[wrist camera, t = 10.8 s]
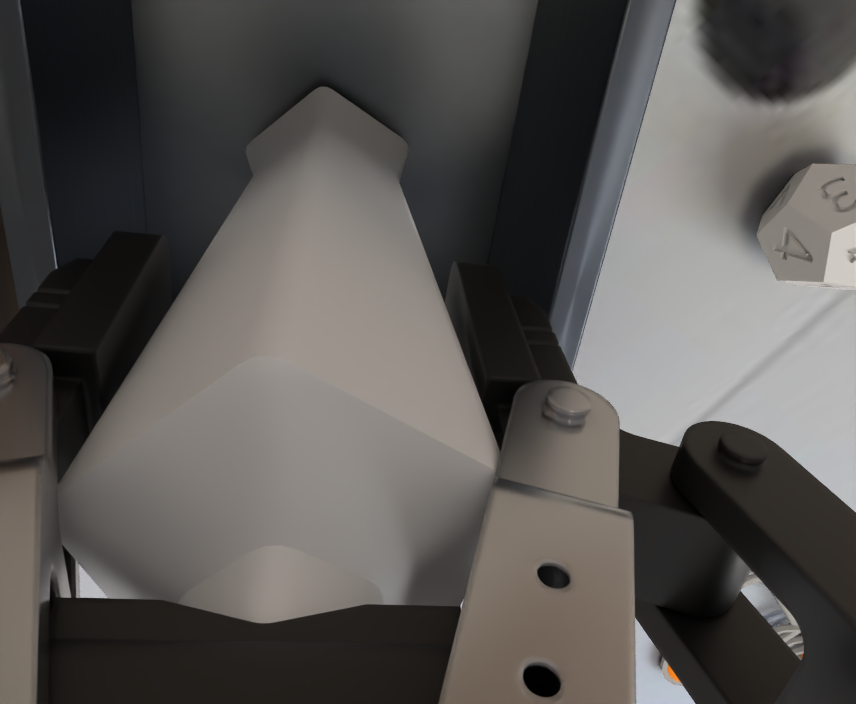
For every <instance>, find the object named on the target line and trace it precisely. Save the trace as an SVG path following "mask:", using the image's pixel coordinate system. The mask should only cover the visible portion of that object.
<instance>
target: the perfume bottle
mask: <svg viewBox="0 0 856 704" xmlns="http://www.w3.org/2000/svg"><path fill="white" fill-rule="evenodd" d="M408 150H409V148H408V145H407V142H406V141H405V140H404V139H403V138H401V137H400V136H399V135H397V134H396V133H394V132H393V131H391V130H390V129H388V128H387V127H386V126H384V125H383V124H381V123H380V122H378V121H377V120H376V119H374V118H373V117H371V116H370V115H368V114H367V113H366V112H364V111H363V110H361V109H360V108H358V107H357V106H355V105H354V104H353V103H351V102H350V101H348V100H347V99H345V98H344V97H343V96H341V95H340V94H338V93H337V92H335V91H334V90H332V89H330V88H328V87H319V88H317V89H315V90H313V91H312V92H311V93H310V94H309V95H307V96H306V97H305V98H304V99H302V100H301V101H300V102H299V103H297V104H296V105H295V106H294V107H293V108H291V109H290V110H289V111H288V112H286V113H285V114H284V115H283V116H282V117H280V118H279V119H278V120H277V121H275V122H274V123H273V124H272V125H270V126H269V127H268V128H267V129H266V130H264V131H263V132H262V133H261V134H259V135H258V136H257V137H256V138H255V139H253V140H252V141H251V142H250V143H249V144H248V146H247V148H246V155H247V159H248V162H249V165H250V167H251V170H252V173H253V177H252V179H251V181H250V182H249V184H248V185H247V187H246V188H245V190H244V192H243V193H242V195H241V196H240V198H239V199H238V201H237V203H236V204H235V206H234V207H233V209H232V211H231V212H230V214H229V215H228V217H227V218H226V220H225V222H224V223H223V225H222V226H221V228H220V229H219V231H218V233H217V234H216V236H215V237H214V239H213V241H212V242H211V244H210V245H209V247H208V248H207V250H206V252H205V253H204V255H203V256H202V258H201V259H200V261H199V263H198V264H197V266H196V267H195V269H194V271H193V272H192V274H191V275H190V277H189V278H188V280H187V282H186V283H185V285H184V286H183V288H182V289H181V291H180V293H179V294H178V296H177V297H176V299H175V301H174V302H173V304H172V305H171V307H170V308H169V310H168V312H167V313H166V315H165V316H164V318H163V319H162V321H161V323H160V324H159V326H158V327H157V329H156V331H155V332H154V334H153V335H152V337H151V338H150V340H149V342H148V343H147V345H146V346H145V348H144V349H143V351H142V353H141V354H140V356H139V357H138V359H137V361H136V362H135V364H134V365H133V367H132V368H131V370H130V372H129V373H128V375H127V376H126V378H125V379H124V381H123V383H122V384H121V386H120V387H119V389H118V391H117V392H116V394H115V395H114V397H113V398H112V400H111V402H110V403H109V405H108V406H107V408H106V409H105V411H104V413H103V414H102V416H101V417H100V419H99V421H98V422H97V424H96V425H95V427H94V428H93V430H92V432H91V433H90V435H89V436H88V438H87V439H86V441H85V443H84V444H83V446H82V447H81V449H80V451H79V452H78V454H77V455H76V457H75V458H74V460H73V462H72V463H71V465H70V466H69V468H68V469H67V471H66V473H65V474H64V476H63V477H62V479H61V481H60V482H59V484H58V514H59V526H60V534H61V541H62V545H63V546H64V547H65V548H66V549H67V550H68V552H69V553H70V554H71V555H72V556H73V557H74V559H75V560H76V561H77V562H78V563H79V564H80V565H81V567H82V568H83V569H84V570H85V571H86V572H87V574H88V575H89V576H90V577H91V578H92V579H93V580H94V582H95V583H96V584H97V585H98V586H99V587H100V589H101V590H102V591H103V592H104V593H105V594H106V595H107V597H108V598H109V599H154V600H165V601H169V602H173V603H177V604H181V605H185V606H189V607H193V608H197V609H201V610H205V611H209V612H213V613H218V614H222V615H226V616H230V617H234V618H238V619H242V620H246V621H250V622H255V623H274V622H279V621H284V620H289V619H294V618H299V617H304V616H309V615H314V614H320V613H325V612H330V611H335V610H340V609H345V608H350V607H355V606H360V605H365V604H379V605H424V606H460V605H461V603H462V601H463V599H464V597H465V593H466V589H467V585H468V580H469V576H470V572H471V568H472V564H473V560H474V556H475V552H476V548H477V544H478V540H479V536H480V532H481V527H482V523H483V519H484V515H485V511H486V507H487V503H488V499H489V495H490V491H491V487H492V483H493V479H494V476H495V472H496V468H497V464H498V460H499V456H500V450H499V447H498V445H497V442H496V439H495V437H494V434H493V431H492V429H491V426H490V423H489V421H488V418H487V415H486V413H485V410H484V407H483V405H482V402H481V399H480V397H479V394H478V391H477V389H476V386H475V383H474V381H473V378H472V375H471V373H470V370H469V367H468V365H467V362H466V359H465V357H464V354H463V351H462V349H461V346H460V343H459V341H458V338H457V335H456V333H455V330H454V327H453V325H452V322H451V319H450V317H449V314H448V311H447V309H446V306H445V303H444V301H443V298H442V295H441V293H440V290H439V287H438V285H437V282H436V279H435V277H434V274H433V271H432V269H431V266H430V263H429V261H428V258H427V255H426V253H425V250H424V247H423V245H422V242H421V239H420V237H419V234H418V231H417V229H416V226H415V223H414V221H413V218H412V215H411V213H410V210H409V207H408V205H407V202H406V199H405V197H404V194H403V191H402V189H401V186H400V183H399V182H400V179H401V175H402V172H403V169H404V166H405V162H406V159H407V156H408Z"/></svg>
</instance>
